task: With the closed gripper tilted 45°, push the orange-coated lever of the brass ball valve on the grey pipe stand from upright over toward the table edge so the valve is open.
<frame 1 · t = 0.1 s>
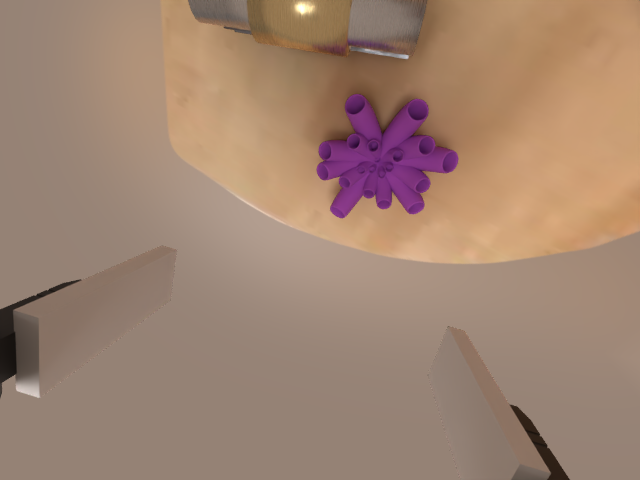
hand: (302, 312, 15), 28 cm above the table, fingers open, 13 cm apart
valve stand: (324, 15, 31), on the table
purple tube coral: (384, 150, 37), on the table
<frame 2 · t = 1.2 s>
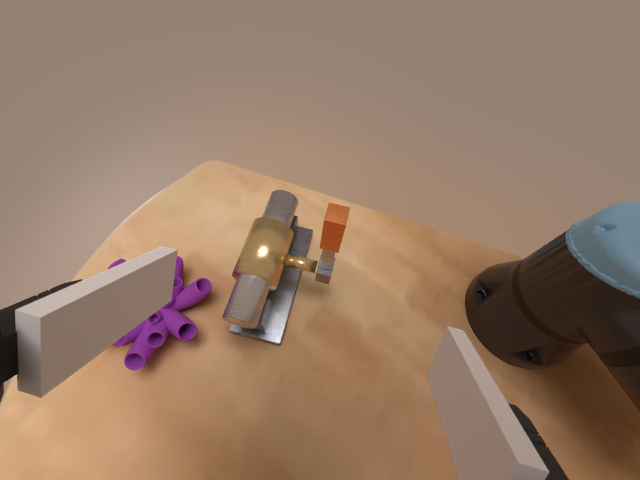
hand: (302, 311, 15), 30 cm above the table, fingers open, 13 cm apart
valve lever: (329, 248, 34), point 14 cm above the table, hinge at 0.0°
valve stand: (268, 277, 47), on the table
purple tube coral: (165, 315, 43), on the table
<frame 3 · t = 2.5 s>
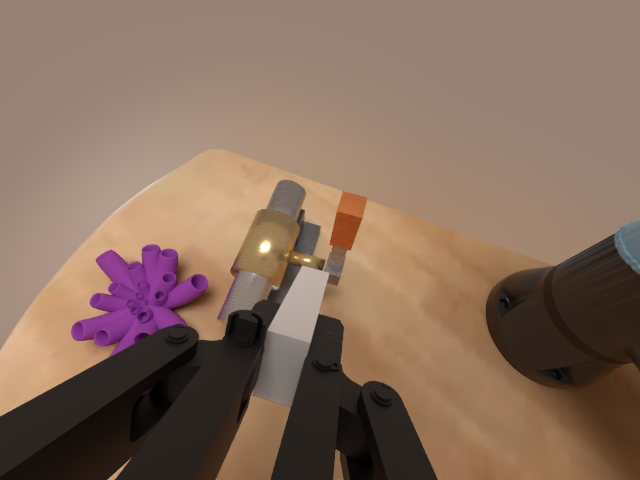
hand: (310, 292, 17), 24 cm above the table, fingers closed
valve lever: (340, 246, 30), point 14 cm above the table, hinge at 0.0°
valve stand: (271, 276, 43), on the table
purple tube coral: (156, 313, 40), on the table
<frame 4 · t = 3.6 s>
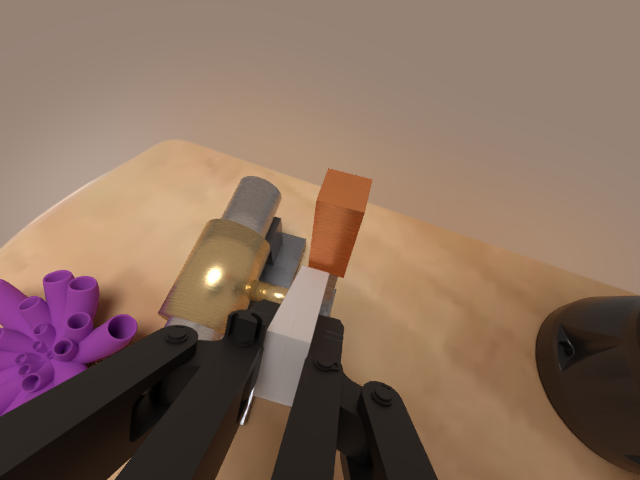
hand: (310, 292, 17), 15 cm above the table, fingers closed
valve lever: (327, 271, 19), point 14 cm above the table, hinge at 6.4°, touching gripper
valve stand: (236, 309, 31), on the table
purple tube coral: (70, 368, 28), on the table
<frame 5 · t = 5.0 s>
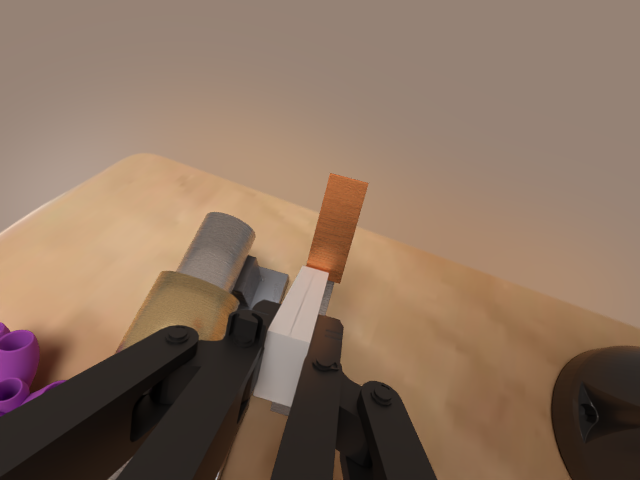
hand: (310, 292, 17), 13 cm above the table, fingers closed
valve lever: (317, 297, 18), point 12 cm above the table, hinge at 50.8°, touching gripper
valve stand: (206, 360, 27), on the table
purple tube coral: (6, 435, 24), on the table
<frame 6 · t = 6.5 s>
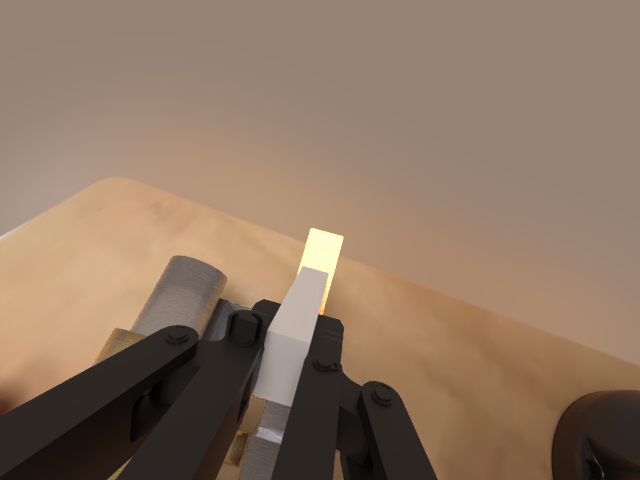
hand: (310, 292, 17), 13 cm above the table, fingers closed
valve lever: (294, 349, 18), point 10 cm above the table, hinge at 73.4°
valve stand: (174, 412, 24), on the table
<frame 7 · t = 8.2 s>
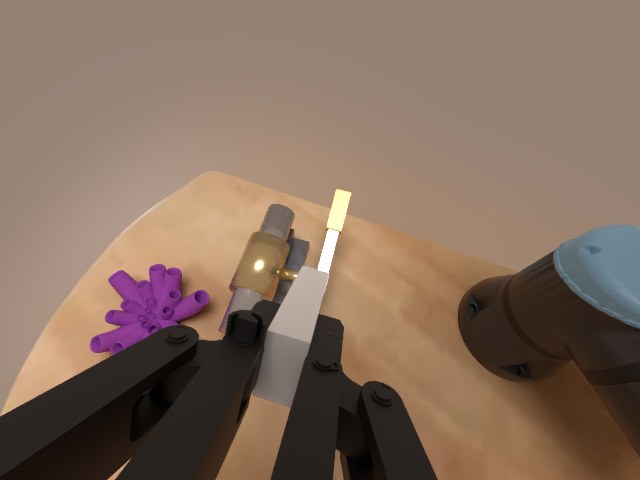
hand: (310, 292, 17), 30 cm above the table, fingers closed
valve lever: (330, 241, 41), point 10 cm above the table, hinge at 73.4°
valve stand: (265, 288, 48), on the table
purple tube coral: (163, 325, 44), on the table
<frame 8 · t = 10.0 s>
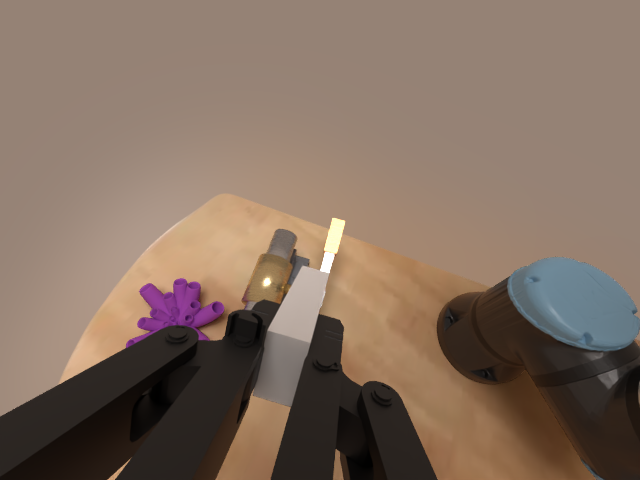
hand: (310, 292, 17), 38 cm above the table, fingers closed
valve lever: (327, 262, 49), point 10 cm above the table, hinge at 73.4°
valve stand: (271, 299, 55), on the table
purple tube coral: (184, 330, 52), on the table
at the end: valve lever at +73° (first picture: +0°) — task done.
